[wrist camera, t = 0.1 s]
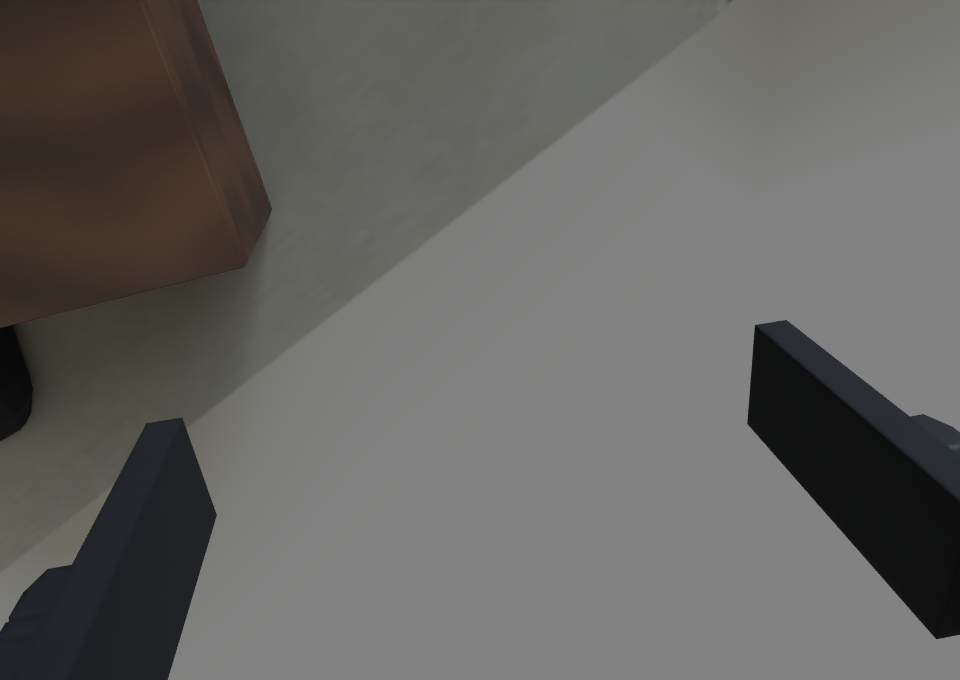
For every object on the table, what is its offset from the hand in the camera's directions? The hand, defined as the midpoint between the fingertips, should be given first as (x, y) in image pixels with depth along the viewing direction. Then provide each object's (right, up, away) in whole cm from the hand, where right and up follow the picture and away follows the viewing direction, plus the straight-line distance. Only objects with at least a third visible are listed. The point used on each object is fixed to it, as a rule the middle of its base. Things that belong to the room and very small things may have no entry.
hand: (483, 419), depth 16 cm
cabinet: (-20, +14, +21) cm, 33 cm away
